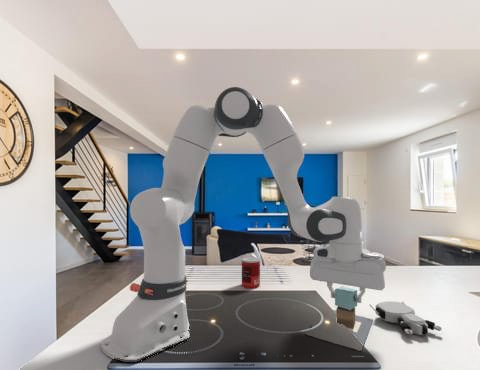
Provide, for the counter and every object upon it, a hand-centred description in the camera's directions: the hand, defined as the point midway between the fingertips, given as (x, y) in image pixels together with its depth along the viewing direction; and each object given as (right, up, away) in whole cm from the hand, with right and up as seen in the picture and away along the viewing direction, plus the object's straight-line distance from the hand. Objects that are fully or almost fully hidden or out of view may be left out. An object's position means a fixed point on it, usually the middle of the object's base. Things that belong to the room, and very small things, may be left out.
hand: (345, 299), depth 77 cm
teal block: (0, -2, 0) cm, 2 cm away
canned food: (-26, -9, +34) cm, 44 cm away
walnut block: (0, -7, 0) cm, 7 cm away
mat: (-2, -7, -1) cm, 8 cm away
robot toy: (+17, -8, 0) cm, 19 cm away
